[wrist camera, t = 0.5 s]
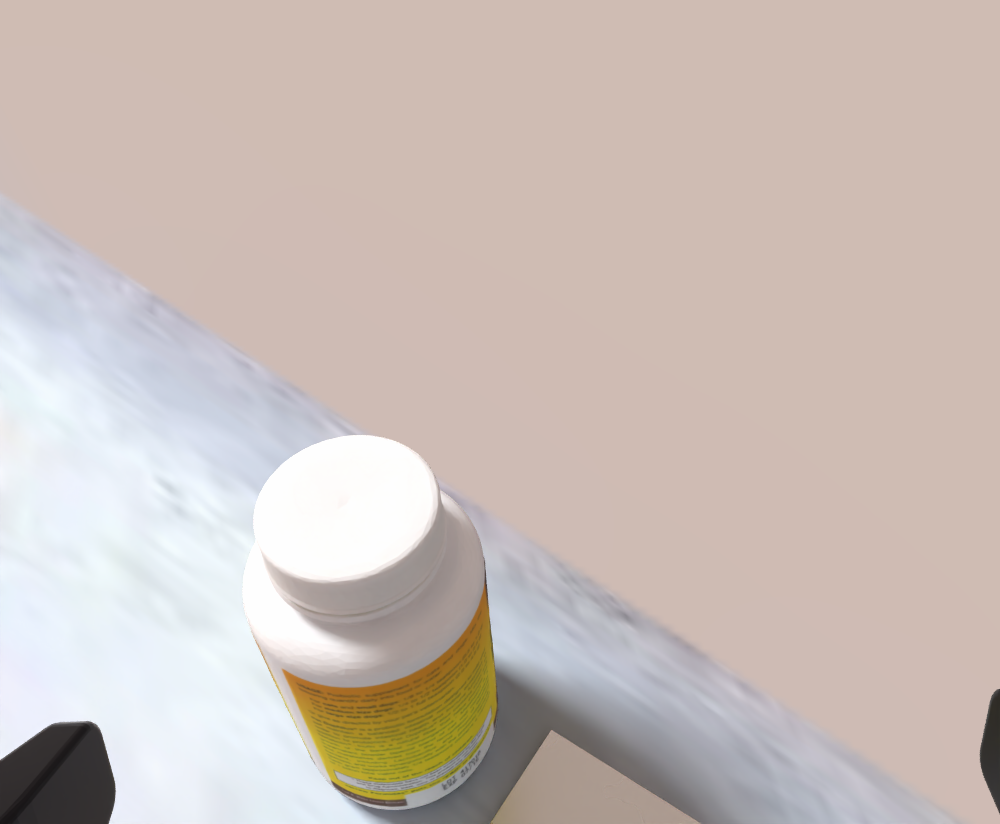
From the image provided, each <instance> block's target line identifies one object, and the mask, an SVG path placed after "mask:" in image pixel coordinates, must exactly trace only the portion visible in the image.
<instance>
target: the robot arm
mask: <svg viewBox="0 0 1000 824" xmlns="http://www.w3.org/2000/svg"><path fill="white" fill-rule="evenodd" d="M980 763H981V769H982V772H983V776H984V778H985V781H986V783H987V785H988V788H989V790H990V792H991V795H992V797H993V799H994V802H995V804H996V806H997V808H998V811H999V813H1000V689H998V690H996V691H995V692H994V694H993V695H992V697H991V700H990V705H989V709H988V714H987V719H986V724H985V729H984V733H983V739H982V743H981V748H980ZM115 792H116V790H115V781H114V777H113V773H112V769H111V766H110V762H109V759H108V755H107V751H106V748H105V744H104V740H103V737H102V733H101V731H100V729H99V727H98V726H97V725H96V724H95V723H93V722H90V721H80V722H59V723H54V724H52V725H50V726H48V727H47V728H45V729H43V730H42V731H41V732H39V733H38V734H36V735H35V736H34V737H32V738H31V739H29V740H28V741H27V742H25V743H24V744H22V745H21V746H19V747H18V748H17V749H15V750H14V751H12V752H11V753H10V754H8V755H7V756H5V757H4V758H3V759H1V760H0V824H109V821H110V818H111V814H112V811H113V807H114V802H115Z"/></svg>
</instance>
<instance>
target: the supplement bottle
mask: <svg viewBox="0 0 1000 824" xmlns="http://www.w3.org/2000/svg"><path fill="white" fill-rule="evenodd" d="M253 523H254V533H255V537H256V542H255V544H254V546H253V548H252V550H251V553H250V555H249V558H248V561H247V564H246V568H245V573H244V579H243V604H244V610H245V614H246V617H247V620H248V624H249V626H250V629H251V632H252V634H253V637H254V639H255V641H256V643H257V645H258V647H259V649H260V651H261V654H262V656H263V658H264V660H265V662H266V664H267V667H268V669H269V671H270V673H271V676H272V678H273V680H274V682H275V684H276V686H277V688H278V690H279V692H280V694H281V696H282V698H283V700H284V703H285V705H286V707H287V709H288V711H289V713H290V715H291V717H292V719H293V721H294V723H295V725H296V727H297V729H298V731H299V733H300V736H301V738H302V740H303V742H304V744H305V746H306V748H307V750H308V752H309V754H310V756H311V758H312V760H313V762H314V764H315V765H316V767H317V769H318V770H319V772H320V773H321V775H322V776H323V777H324V778H325V780H326V781H327V782H328V783H329V784H330V785H331V786H332V787H333V788H335V789H336V790H337V791H338V792H340V793H341V794H342V795H344V796H346V797H347V798H349V799H351V800H353V801H355V802H357V803H360V804H363V805H366V806H369V807H373V808H377V809H386V810H404V809H411V808H416V807H420V806H423V805H426V804H429V803H432V802H434V801H436V800H438V799H440V798H442V797H444V796H445V795H447V794H449V793H450V792H452V791H453V790H455V789H456V788H458V787H459V786H460V785H461V784H462V783H464V782H465V781H466V780H467V779H468V778H469V776H470V775H471V774H472V773H473V772H474V771H475V770H476V768H477V767H478V766H479V764H480V763H481V761H482V760H483V758H484V756H485V754H486V753H487V750H488V748H489V746H490V744H491V741H492V738H493V735H494V732H495V728H496V722H497V713H498V698H497V686H496V675H495V665H494V654H493V642H492V635H491V625H490V617H489V605H488V593H487V584H486V570H485V560H484V556H483V551H482V546H481V542H480V539H479V536H478V534H477V531H476V529H475V527H474V525H473V524H472V522H471V520H470V519H469V517H468V516H467V514H466V513H465V512H464V510H463V509H462V508H461V507H460V506H459V505H458V504H457V503H456V502H455V501H454V500H453V499H452V498H451V497H449V496H448V495H447V494H445V493H444V492H442V491H441V490H440V489H439V485H438V482H437V480H436V477H435V475H434V473H433V471H432V470H431V468H430V467H429V465H428V464H427V463H426V461H425V460H424V459H423V458H422V457H421V456H419V455H418V454H417V453H416V452H415V451H413V450H412V449H410V448H408V447H407V446H405V445H403V444H401V443H398V442H395V441H393V440H390V439H386V438H382V437H376V436H367V435H359V436H343V437H338V438H334V439H330V440H326V441H323V442H320V443H317V444H315V445H312V446H310V447H308V448H306V449H304V450H302V451H300V452H299V453H297V454H295V455H294V456H292V457H291V458H290V459H288V460H287V461H286V462H284V463H283V464H282V465H281V466H280V467H279V468H278V469H277V470H276V471H275V472H274V473H273V475H272V476H271V477H270V478H269V479H268V481H267V482H266V484H265V485H264V487H263V489H262V491H261V492H260V495H259V497H258V500H257V502H256V506H255V511H254V519H253Z"/></svg>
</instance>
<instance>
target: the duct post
mask: <svg viewBox="0 0 1000 824" xmlns="http://www.w3.org/2000/svg"><path fill="white" fill-rule="evenodd" d="M490 824H701V823H700V822H698V821H696V820H695V819H693V818H692V817H690V816H688V815H687V814H685V813H684V812H682V811H680V810H679V809H677V808H676V807H674V806H672V805H671V804H669V803H668V802H666V801H664V800H663V799H661V798H660V797H658V796H656V795H655V794H653V793H652V792H650V791H648V790H647V789H645V788H644V787H642V786H640V785H639V784H637V783H636V782H634V781H633V780H631V779H629V778H628V777H626V776H625V775H623V774H621V773H620V772H618V771H617V770H615V769H613V768H612V767H610V766H609V765H607V764H605V763H604V762H602V761H601V760H599V759H597V758H596V757H594V756H593V755H591V754H589V753H588V752H586V751H585V750H583V749H581V748H580V747H578V746H577V745H575V744H573V743H572V742H570V741H569V740H567V739H565V738H564V737H562V736H561V735H559V734H558V733H556V732H554V731H553V730H551V731H550V733H549V734H548V736H547V737H546V739H545V740H544V742H543V743H542V745H541V746H540V748H539V749H538V751H537V752H536V754H535V755H534V757H533V759H532V760H531V762H530V763H529V765H528V766H527V768H526V769H525V771H524V772H523V774H522V775H521V777H520V778H519V780H518V781H517V783H516V785H515V786H514V788H513V789H512V791H511V792H510V794H509V795H508V797H507V798H506V800H505V801H504V803H503V804H502V806H501V807H500V809H499V811H498V812H497V814H496V815H495V817H494V818H493V820H492V821H491V823H490Z"/></svg>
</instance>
